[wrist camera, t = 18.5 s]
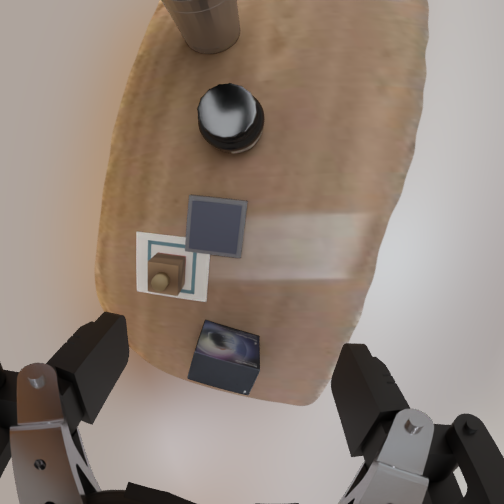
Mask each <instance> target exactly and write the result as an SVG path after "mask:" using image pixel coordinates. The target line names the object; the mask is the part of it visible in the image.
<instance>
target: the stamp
mask: <svg viewBox="0 0 504 504" xmlns="http://www.w3.org/2000/svg"><path fill="white" fill-rule="evenodd" d="M185 267H186V256H181V255H174V254H166V253H159V252H158V253H157V254H155V255H154V256H153V257H152V258H151V259H150V260H149V261H148V291H149V292H155V293H161V294H167V295H174V296H178V294H179V293H180V291H181V289H182V288H183V286H184V284H185Z"/></svg>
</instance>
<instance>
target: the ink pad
mask: <svg viewBox="0 0 504 504" xmlns="http://www.w3.org/2000/svg"><path fill="white" fill-rule="evenodd" d="M247 202H248V201H245V200H237V199H228V198H219V197H210V196H200V195H189V203H188V215H187V228H186V242H185V251H187V252H195V253H203V254H211V255H219V256H227V257H235V258H241V251H242V242H243V234H244V226H245V218H246V210H247Z"/></svg>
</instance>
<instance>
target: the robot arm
mask: <svg viewBox="0 0 504 504" xmlns="http://www.w3.org/2000/svg"><path fill="white" fill-rule="evenodd" d="M162 2H163V4H164V5H165V7H166V8H167V10H168V12H169V13H170V15H171V17H172V18H173V20H174V22H175V23H176V25H177V27H178V29H179V30H180V32H181V34H182V36H183V37H184V39H185V41H186V43H187V44H188V46H189V47H190V48H192V49H193V50H195V51H197V52H200V53H205V54H212V53H218V52H221V51H224V50H226V49H227V48H229V47H231V46H232V45H233V44H234V43H235V42H236V40H237V39H238V37H239V34H240V25H239V15H238V6H237V0H162ZM128 357H129V345H128V336H127V326H126V319H125V317H124V316H123V315H119V314H114V313H110V312H104V313H103V314H102V315H101V316H100V317H99V318H98V319H97V320H96V321H95V322H89V323H88V324H85V325H83V326H81V327H80V328H79V329H78V330H77V331H76V332H75V333H74V334H73V336H71V337H70V338H69V339H68V341H67V343H65V344H64V345H63V346H62V347H61V348H60V349H59V350H58V351H57V352H56V353H55V354H54V355H53V357H52V358H51V359H50V360H49V361H48V362H47V363H46V364H44V363H33V364H30V365H27V366H25V367H24V368H23V369H21V371H20V372H14V371H8V370H3V368H2V366H1V363H0V477H1V475H2V473H3V471H4V469H5V468H6V466H7V464H8V462H9V460H10V458H11V456H12V464H13V470H14V477H15V483H16V488H17V493H18V498H19V502H20V504H196V503H193V502H191V501H188V500H185V499H183V498H181V497H178V496H176V495H173V494H171V493H169V492H165V491H160V490H156V489H152V488H148V487H145V486H141V485H137V484H134V483H131V482H128V485H127V488H126V490H105V491H101V489H100V487H99V485H98V483H97V481H96V479H95V477H94V475H93V472H92V470H91V467H90V464H89V462H88V458H87V455H86V452H85V449H84V446H83V442H82V439H81V436H80V432H79V429H78V427H77V426H78V425H79V423H80V421H81V420H82V421H84V422H86V423H89V424H93V423H94V421H95V419H96V417H97V415H98V413H99V412H100V410H101V408H102V406H103V404H104V403H105V401H106V399H107V397H108V395H109V394H110V392H111V390H112V389H113V387H114V385H115V383H116V382H117V380H118V378H119V377H120V375H121V373H122V371H123V370H124V368H125V366H126V365H127V362H128ZM331 389H332V393H333V397H334V400H335V403H336V407H337V410H338V413H339V417H340V419H341V423H342V427H343V430H344V433H345V437H346V440H347V444H348V447H349V451H350V454H351V457H356V456H364V459H365V461H364V463H363V464H362V465H361V467H360V469H359V471H358V473H357V474H356V476H355V478H354V479H353V481H352V483H351V484H350V486H349V487H348V489H347V491H346V492H345V494H344V495H343V497H342V499H341V500H340V501H339V503H338V504H504V458H503V456H502V454H501V452H500V451H499V449H498V447H497V445H496V444H495V442H494V440H493V439H492V437H491V435H490V434H489V432H488V430H487V429H486V427H485V425H484V424H483V422H482V421H481V420H480V419H479V418H477V417H475V416H474V415H471V414H461V415H459V416H458V417H457V418H456V419H455V420H454V422H453V423H452V425H441V424H433V422H432V420H431V418H430V417H429V416H428V415H427V414H425V413H423V412H422V411H419V410H416V409H410V407H409V405H408V403H407V401H406V400H405V398H404V396H403V394H402V393H401V391H400V389H399V387H398V386H397V384H396V383H395V381H394V379H393V377H392V376H391V374H390V372H389V370H388V369H387V367H386V365H385V364H384V363H383V362H381V361H380V360H379V359H378V358H377V357H372V355H371V353H370V351H369V350H368V348H367V346H366V345H365V344H349V343H346V344H344V345H343V347H342V350H341V353H340V356H339V358H338V361H337V364H336V367H335V370H334V372H333V375H332V380H331ZM458 466H459V467H460V469H461V472H462V474H463V476H464V478H465V481H466V483H467V487H468V488H467V493H466V495H465V497H464V498H463V495H462V493H461V490H460V488H459V485H458V483H457V480H456V478H455V476H454V474H453V471H454V470H455V469H456V468H457V467H458ZM291 504H292V503H291ZM293 504H299V503H293Z"/></svg>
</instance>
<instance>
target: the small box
mask: <svg viewBox="0 0 504 504" xmlns="http://www.w3.org/2000/svg"><path fill="white" fill-rule="evenodd" d="M259 351H260V347H259V336H258V335H254V334H251V333H247V332H244V331H240V330H237V329H233V328H230V327H227V326H224V325H220V324H217V323H214V322H211V321H208V320H205V322H204V325H203V328H202V331H201V334H200V337H199V340H198V343H197V346H196V349H195V352H194V355H193V359H192V362H191V366H190V370H189V373H188V379H190V380H193V381H196V382H200V383H203V384H207V385H210V386H213V387H217V388H221V389H224V390H228V391H232V392H236V393H240V394H244V395H249V393H250V391H251V389H252V387H253V385H254V383H255V380H256V378H257V376H258V374H259V372H260V352H259Z"/></svg>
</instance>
